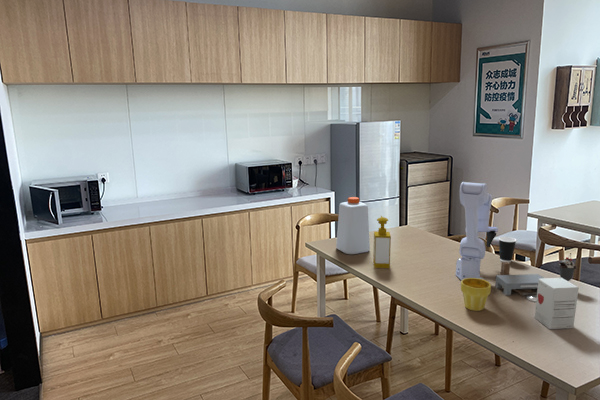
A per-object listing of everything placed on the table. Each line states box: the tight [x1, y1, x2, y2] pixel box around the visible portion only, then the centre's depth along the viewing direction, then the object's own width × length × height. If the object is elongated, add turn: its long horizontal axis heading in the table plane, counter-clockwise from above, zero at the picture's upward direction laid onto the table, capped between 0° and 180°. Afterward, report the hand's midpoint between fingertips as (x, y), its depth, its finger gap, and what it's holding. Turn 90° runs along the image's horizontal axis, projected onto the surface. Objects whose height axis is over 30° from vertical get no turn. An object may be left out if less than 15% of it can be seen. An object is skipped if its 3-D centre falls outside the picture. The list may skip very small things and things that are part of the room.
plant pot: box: [460, 278, 492, 312], centre depth 168 cm, size 10×10×10 cm
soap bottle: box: [372, 215, 392, 269], centre depth 215 cm, size 7×13×24 cm, turn 174°
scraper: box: [500, 261, 537, 298], centre depth 188 cm, size 6×22×7 cm, turn 3°
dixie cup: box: [498, 236, 518, 263], centre depth 218 cm, size 8×8×11 cm
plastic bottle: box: [335, 196, 371, 255], centre depth 235 cm, size 15×15×28 cm
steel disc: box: [526, 294, 537, 303], centre depth 176 cm, size 5×5×1 cm
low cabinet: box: [494, 273, 545, 296], centre depth 183 cm, size 18×10×5 cm, turn 93°
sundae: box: [557, 252, 578, 282], centre depth 184 cm, size 7×7×15 cm
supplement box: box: [534, 277, 579, 330], centre depth 155 cm, size 9×9×15 cm
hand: (480, 246), depth 210 cm, fingers open, 7 cm apart
